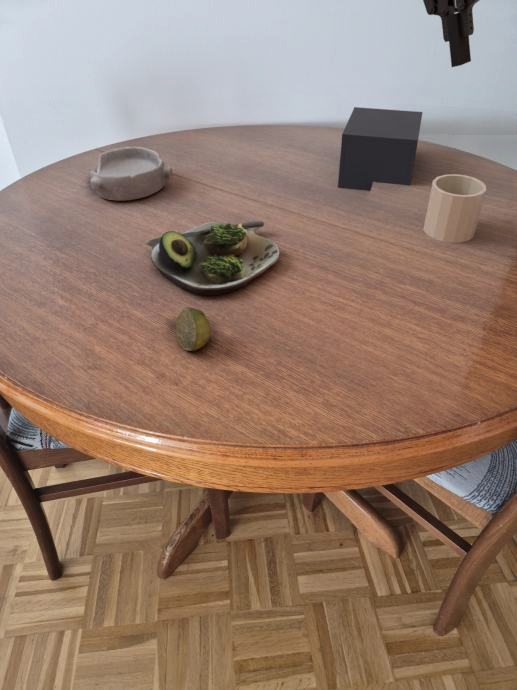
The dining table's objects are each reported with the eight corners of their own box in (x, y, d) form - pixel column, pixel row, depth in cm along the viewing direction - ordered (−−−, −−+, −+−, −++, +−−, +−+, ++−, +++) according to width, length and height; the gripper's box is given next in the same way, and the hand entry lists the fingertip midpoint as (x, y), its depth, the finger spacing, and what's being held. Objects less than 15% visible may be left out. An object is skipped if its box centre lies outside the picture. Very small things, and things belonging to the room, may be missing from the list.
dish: (96, 209, 93) (90, 181, 90) (88, 177, 103) (82, 151, 100) (179, 196, 97) (175, 168, 94) (163, 166, 107) (160, 141, 104)
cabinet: (349, 156, 109) (354, 107, 103) (413, 162, 106) (422, 111, 100) (337, 187, 99) (342, 133, 92) (408, 194, 96) (418, 140, 90)
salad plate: (228, 215, 91) (227, 189, 88) (308, 254, 81) (309, 226, 78) (132, 259, 81) (127, 231, 78) (210, 310, 71) (207, 280, 68)
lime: (202, 360, 64) (198, 327, 60) (167, 349, 65) (161, 317, 62) (219, 337, 67) (217, 305, 64) (185, 328, 68) (181, 296, 65)
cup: (470, 231, 86) (485, 176, 80) (471, 255, 80) (487, 198, 74) (422, 226, 87) (433, 172, 81) (420, 249, 82) (431, 193, 76)
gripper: (380, -117, 70) (407, 78, 81) (476, -170, 61) (493, 59, 71) (413, -119, 74) (434, 68, 84) (507, -169, 65) (519, 48, 75)
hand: (461, 64), depth 78 cm, fingers closed
